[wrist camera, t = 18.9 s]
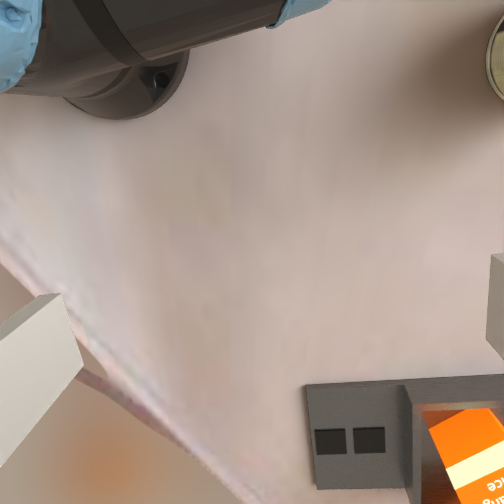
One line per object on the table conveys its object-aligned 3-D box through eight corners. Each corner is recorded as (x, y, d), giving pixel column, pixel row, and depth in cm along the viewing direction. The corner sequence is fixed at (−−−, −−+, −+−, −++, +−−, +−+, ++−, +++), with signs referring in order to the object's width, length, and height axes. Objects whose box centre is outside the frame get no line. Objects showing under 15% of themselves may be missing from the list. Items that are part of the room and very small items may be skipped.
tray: (316, 483, 56) (318, 513, 52) (305, 384, 51) (307, 409, 46) (535, 478, 52) (556, 510, 48) (548, 371, 47) (574, 397, 43)
